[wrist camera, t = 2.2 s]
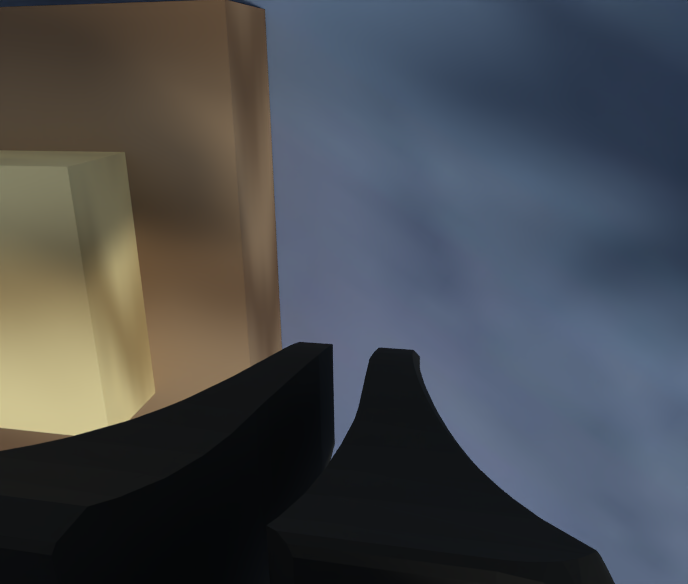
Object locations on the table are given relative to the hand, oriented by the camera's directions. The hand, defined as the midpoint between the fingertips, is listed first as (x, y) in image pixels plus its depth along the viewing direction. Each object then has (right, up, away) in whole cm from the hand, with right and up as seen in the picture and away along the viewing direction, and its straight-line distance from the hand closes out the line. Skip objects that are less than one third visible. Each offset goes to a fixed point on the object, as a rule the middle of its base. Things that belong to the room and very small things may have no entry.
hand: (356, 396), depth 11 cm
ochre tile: (-8, +2, +7) cm, 11 cm away
